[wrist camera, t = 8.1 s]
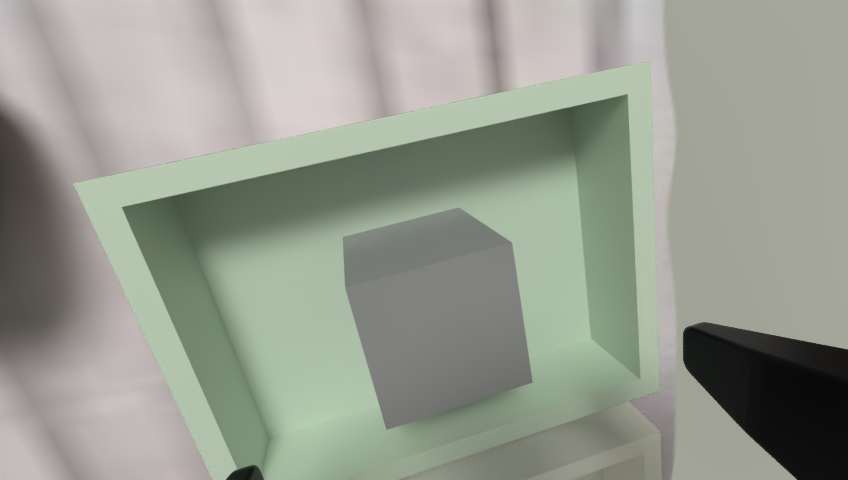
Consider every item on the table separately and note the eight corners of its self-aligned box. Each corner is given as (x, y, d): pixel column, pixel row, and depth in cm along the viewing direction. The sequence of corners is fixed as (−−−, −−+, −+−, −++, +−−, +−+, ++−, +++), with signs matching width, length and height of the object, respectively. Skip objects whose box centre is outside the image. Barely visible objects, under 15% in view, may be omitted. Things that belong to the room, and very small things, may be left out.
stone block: (477, 311, 17) (532, 382, 12) (372, 342, 16) (386, 430, 12) (458, 207, 16) (512, 242, 11) (342, 236, 15) (344, 288, 10)
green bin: (597, 339, 20) (659, 391, 16) (259, 444, 17) (237, 533, 14) (576, 76, 16) (650, 60, 12) (145, 167, 14) (72, 183, 10)
